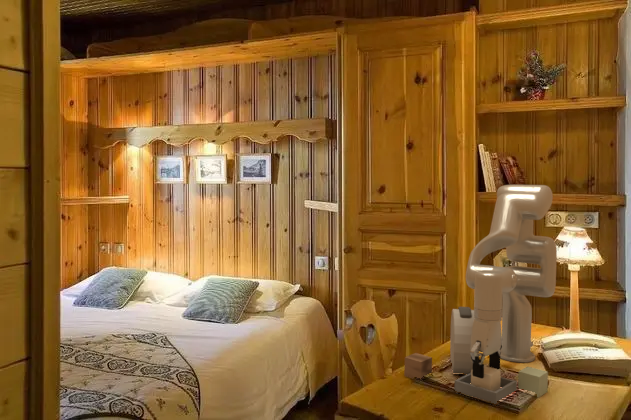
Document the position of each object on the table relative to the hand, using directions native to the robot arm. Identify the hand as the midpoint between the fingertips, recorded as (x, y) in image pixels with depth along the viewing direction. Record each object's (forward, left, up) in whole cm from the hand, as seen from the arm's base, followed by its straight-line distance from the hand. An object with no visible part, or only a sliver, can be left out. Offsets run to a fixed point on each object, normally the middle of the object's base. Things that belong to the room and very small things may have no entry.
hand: (486, 372), depth 152 cm
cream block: (0, 0, -5) cm, 5 cm away
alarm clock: (-14, -15, -6) cm, 21 cm away
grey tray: (0, 0, -6) cm, 6 cm away
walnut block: (+3, -21, -6) cm, 22 cm away
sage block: (-11, +9, -6) cm, 15 cm away
